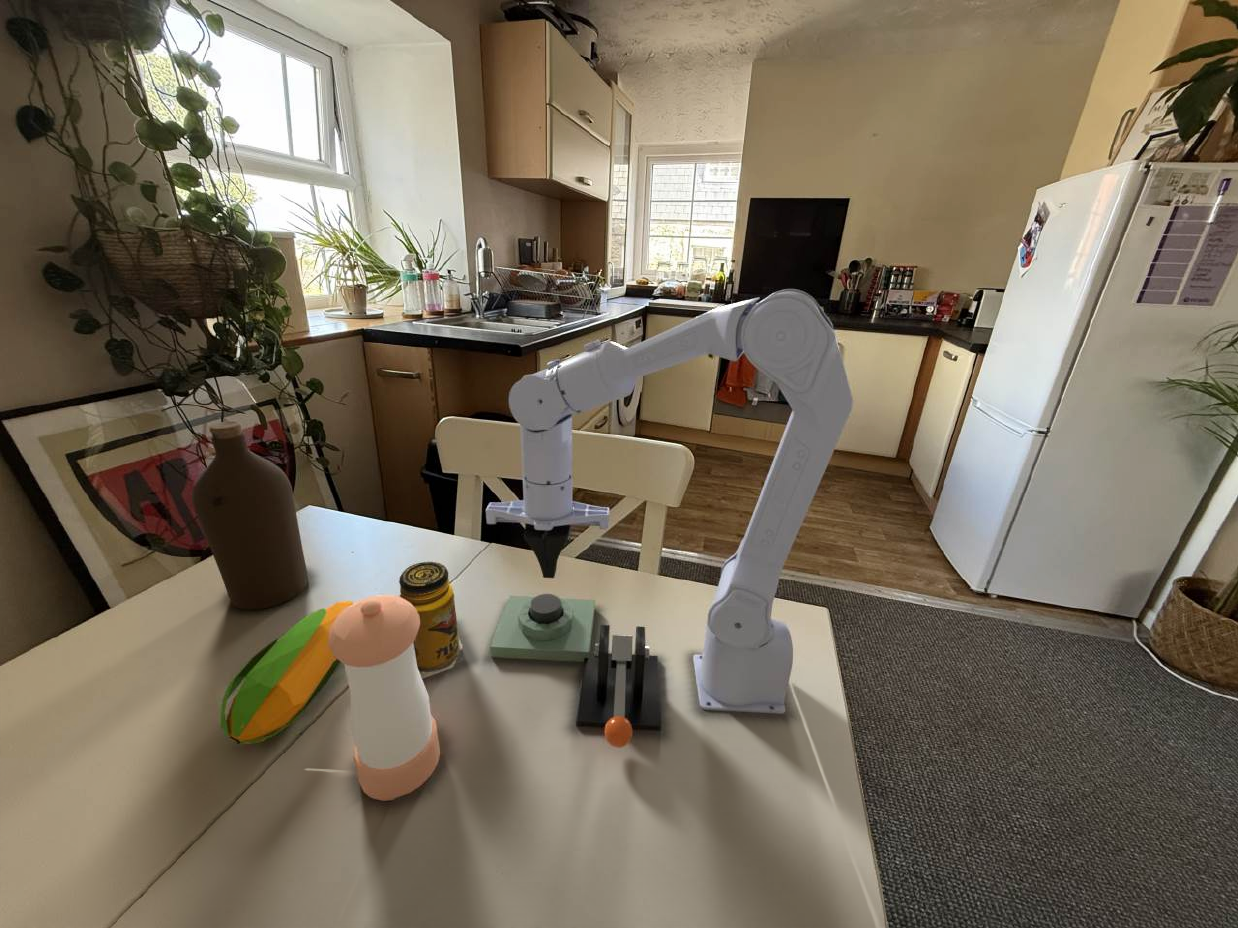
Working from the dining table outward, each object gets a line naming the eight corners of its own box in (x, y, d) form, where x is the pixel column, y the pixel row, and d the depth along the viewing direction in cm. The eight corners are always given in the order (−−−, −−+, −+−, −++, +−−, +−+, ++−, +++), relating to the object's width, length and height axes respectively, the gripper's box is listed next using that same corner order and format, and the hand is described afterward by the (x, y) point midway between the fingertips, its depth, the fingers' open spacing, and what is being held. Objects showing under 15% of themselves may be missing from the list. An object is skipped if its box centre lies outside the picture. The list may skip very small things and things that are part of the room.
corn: (182, 702, 45) (315, 572, 63) (201, 760, 47) (322, 620, 66) (265, 711, 45) (373, 578, 63) (278, 768, 48) (378, 626, 66)
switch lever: (631, 751, 49) (632, 744, 47) (603, 749, 49) (603, 742, 47) (634, 645, 57) (635, 634, 55) (609, 643, 57) (610, 633, 55)
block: (594, 610, 70) (595, 590, 69) (588, 664, 61) (588, 641, 59) (510, 606, 70) (509, 585, 69) (491, 658, 61) (489, 636, 60)
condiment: (470, 661, 61) (461, 579, 56) (396, 690, 56) (380, 604, 51) (452, 625, 66) (443, 549, 61) (384, 649, 62) (369, 569, 57)
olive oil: (318, 595, 71) (279, 429, 61) (226, 624, 65) (166, 445, 55) (308, 560, 78) (271, 408, 69) (224, 583, 72) (171, 420, 63)
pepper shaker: (381, 728, 52) (350, 574, 44) (451, 732, 51) (431, 578, 44) (343, 798, 45) (298, 631, 37) (423, 803, 45) (394, 636, 37)
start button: (563, 604, 66) (563, 594, 65) (559, 625, 62) (559, 614, 62) (533, 603, 66) (533, 592, 66) (527, 623, 62) (527, 612, 62)
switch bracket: (660, 732, 52) (666, 676, 49) (575, 727, 52) (576, 672, 49) (657, 661, 62) (661, 611, 59) (585, 657, 62) (585, 607, 59)
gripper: (474, 486, 54) (483, 590, 59) (608, 492, 53) (605, 595, 59) (492, 462, 60) (498, 557, 65) (611, 467, 60) (608, 562, 65)
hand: (549, 573), depth 62 cm, fingers closed
